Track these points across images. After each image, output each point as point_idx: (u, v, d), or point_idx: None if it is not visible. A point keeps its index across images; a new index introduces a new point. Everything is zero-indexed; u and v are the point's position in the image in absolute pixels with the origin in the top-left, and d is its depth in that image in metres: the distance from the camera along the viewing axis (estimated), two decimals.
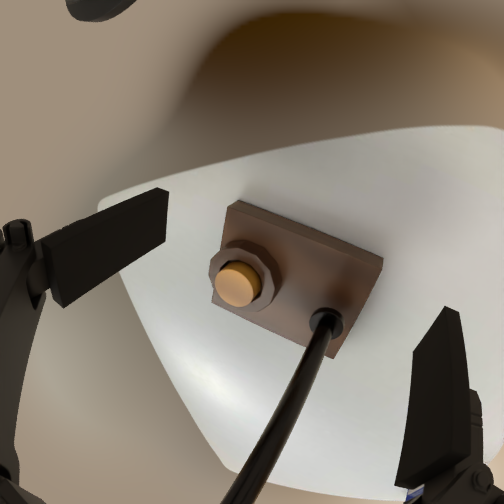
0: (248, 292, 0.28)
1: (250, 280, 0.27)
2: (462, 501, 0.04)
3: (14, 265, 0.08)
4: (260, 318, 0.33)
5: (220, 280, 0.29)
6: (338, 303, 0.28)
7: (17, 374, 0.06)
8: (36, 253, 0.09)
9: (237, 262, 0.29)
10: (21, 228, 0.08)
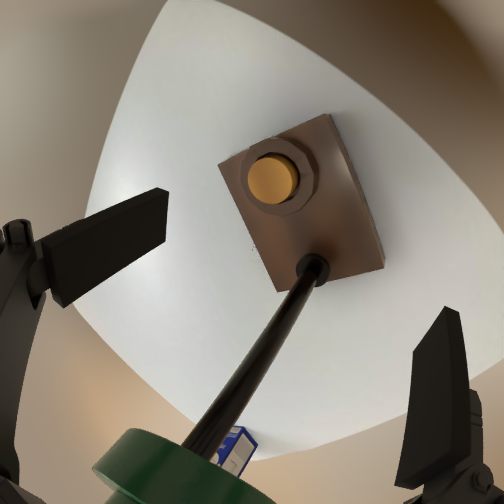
0: (280, 195, 0.26)
1: (291, 189, 0.25)
2: (463, 501, 0.04)
3: (14, 265, 0.08)
4: (250, 214, 0.31)
5: (264, 164, 0.25)
6: (328, 260, 0.29)
7: (17, 374, 0.06)
8: (37, 253, 0.09)
9: (290, 163, 0.25)
10: (21, 228, 0.08)
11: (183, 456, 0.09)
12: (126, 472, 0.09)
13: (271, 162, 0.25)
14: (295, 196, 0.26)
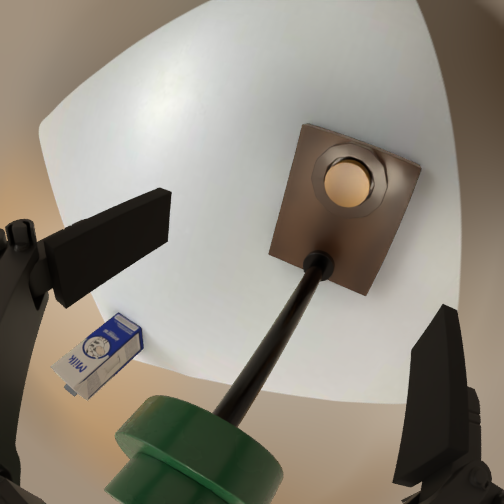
0: (345, 201, 0.26)
1: (358, 204, 0.26)
2: (460, 498, 0.04)
3: (17, 265, 0.08)
4: (297, 184, 0.30)
5: (354, 170, 0.24)
6: None
7: (19, 375, 0.07)
8: (39, 254, 0.09)
9: (370, 182, 0.25)
10: (24, 228, 0.08)
11: (256, 449, 0.12)
12: (208, 461, 0.10)
13: (361, 174, 0.24)
14: (352, 207, 0.27)
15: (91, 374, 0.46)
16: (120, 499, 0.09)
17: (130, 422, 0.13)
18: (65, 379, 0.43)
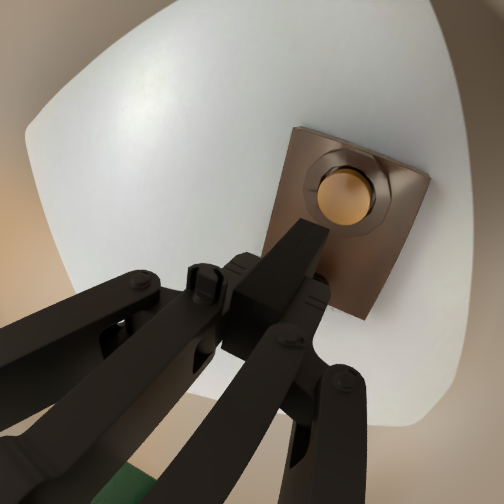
0: (341, 218, 0.22)
1: None
2: (275, 360, 0.07)
3: (188, 323, 0.08)
4: (288, 196, 0.27)
5: (352, 182, 0.21)
6: None
7: (137, 440, 0.06)
8: None
9: (371, 195, 0.22)
10: (213, 281, 0.08)
11: None
12: None
13: (360, 186, 0.21)
14: None
15: None
16: None
17: None
18: None
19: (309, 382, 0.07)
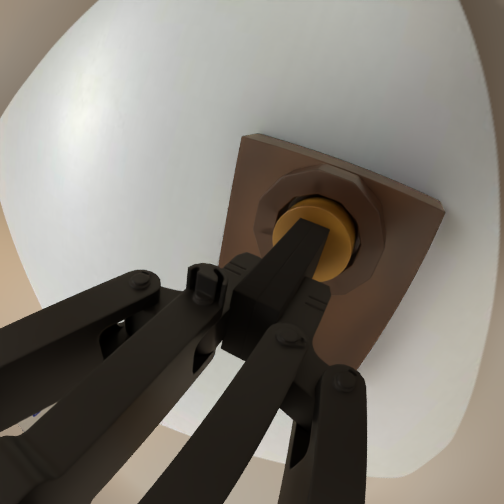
0: None
1: (331, 278, 0.15)
2: (275, 360, 0.07)
3: (188, 323, 0.08)
4: (239, 232, 0.20)
5: (323, 221, 0.14)
6: None
7: (137, 440, 0.06)
8: None
9: (355, 237, 0.15)
10: (213, 281, 0.08)
11: None
12: None
13: (336, 228, 0.14)
14: None
15: None
16: None
17: None
18: (19, 423, 0.33)
19: (309, 382, 0.07)
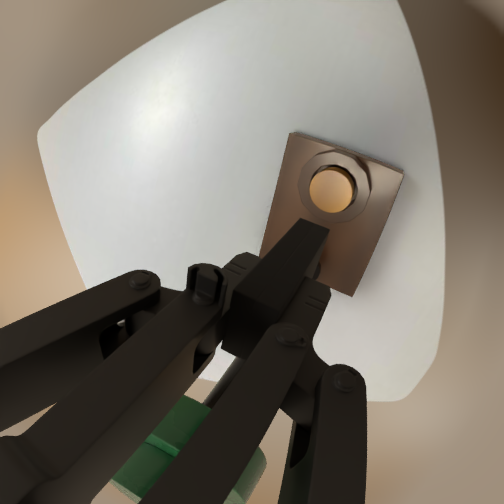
0: (329, 207, 0.28)
1: None
2: (275, 360, 0.07)
3: (188, 323, 0.08)
4: (285, 190, 0.32)
5: (337, 178, 0.26)
6: None
7: (137, 440, 0.06)
8: None
9: (354, 188, 0.27)
10: (213, 281, 0.08)
11: None
12: None
13: (344, 181, 0.26)
14: (336, 212, 0.29)
15: None
16: (117, 481, 0.11)
17: None
18: None
19: (309, 381, 0.07)
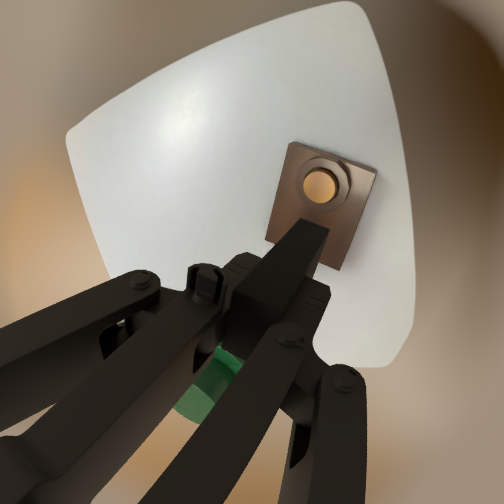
0: (318, 199, 0.37)
1: None
2: (275, 360, 0.07)
3: (188, 323, 0.08)
4: (285, 187, 0.42)
5: (323, 177, 0.36)
6: None
7: (137, 440, 0.06)
8: None
9: (337, 185, 0.37)
10: (213, 281, 0.08)
11: None
12: None
13: (329, 179, 0.35)
14: (324, 203, 0.38)
15: None
16: None
17: None
18: None
19: (309, 382, 0.07)
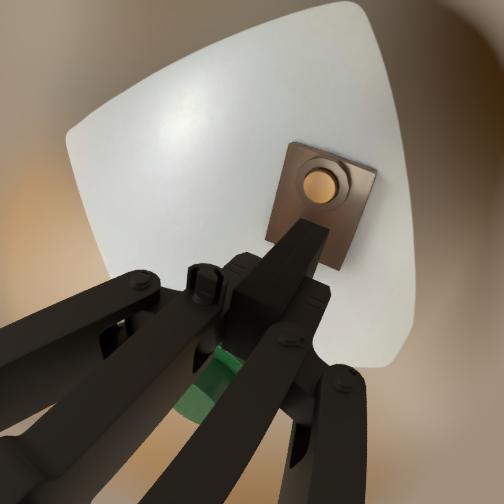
0: (318, 199, 0.37)
1: None
2: (275, 360, 0.07)
3: (188, 323, 0.08)
4: (285, 187, 0.42)
5: (323, 177, 0.36)
6: None
7: (137, 440, 0.06)
8: None
9: (337, 185, 0.37)
10: (213, 281, 0.08)
11: None
12: None
13: (329, 179, 0.35)
14: (324, 203, 0.38)
15: None
16: None
17: None
18: None
19: (309, 382, 0.07)
